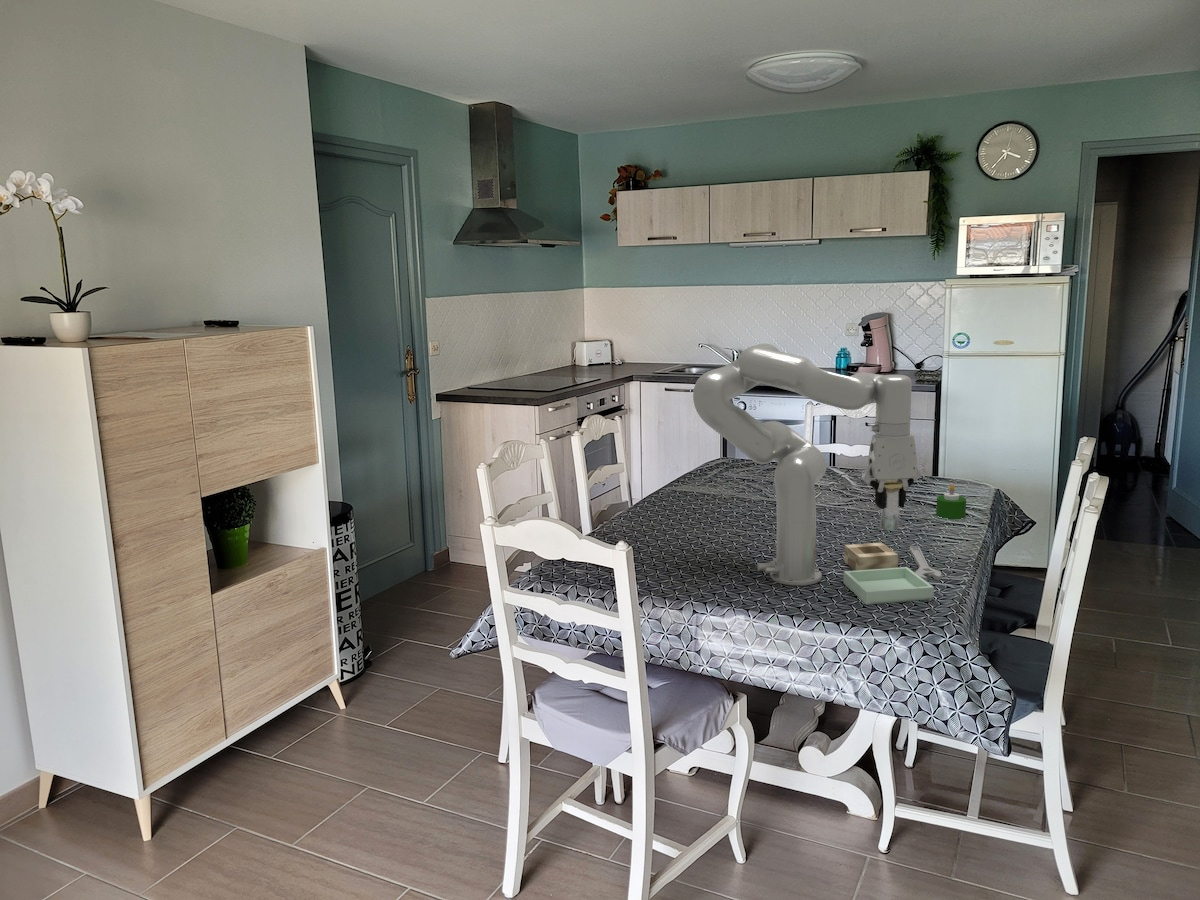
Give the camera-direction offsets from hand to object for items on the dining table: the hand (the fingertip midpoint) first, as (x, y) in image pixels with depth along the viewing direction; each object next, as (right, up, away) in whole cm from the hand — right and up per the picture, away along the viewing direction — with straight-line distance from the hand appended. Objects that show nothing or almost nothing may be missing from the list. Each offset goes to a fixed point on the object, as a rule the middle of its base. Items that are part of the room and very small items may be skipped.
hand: (890, 506), depth 204 cm
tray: (+1, -20, +4) cm, 21 cm away
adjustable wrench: (+16, -17, +21) cm, 31 cm away
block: (+2, -17, +21) cm, 27 cm away
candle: (+39, -7, +62) cm, 74 cm away
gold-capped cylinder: (0, -5, +1) cm, 5 cm away
